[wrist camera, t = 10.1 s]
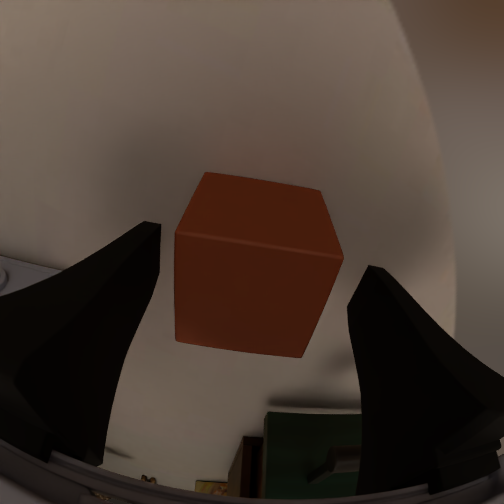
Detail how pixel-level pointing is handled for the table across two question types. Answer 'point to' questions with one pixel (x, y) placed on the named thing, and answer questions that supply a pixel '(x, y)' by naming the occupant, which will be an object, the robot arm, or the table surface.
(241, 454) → the cabinet
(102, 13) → the table surface
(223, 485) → the candy box
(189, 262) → the block
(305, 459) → the drawer
